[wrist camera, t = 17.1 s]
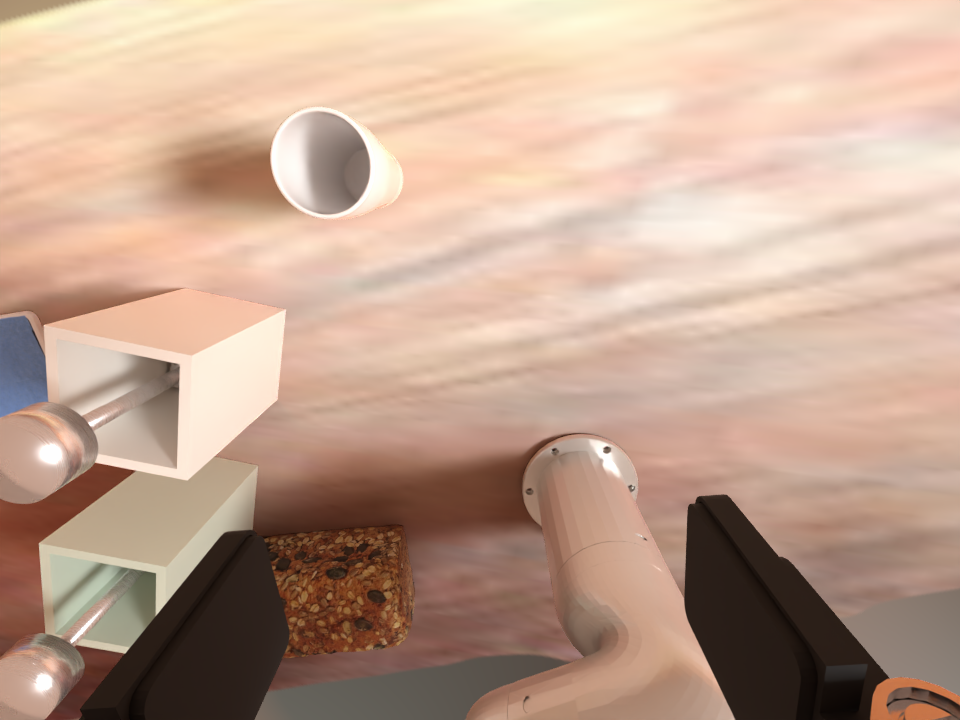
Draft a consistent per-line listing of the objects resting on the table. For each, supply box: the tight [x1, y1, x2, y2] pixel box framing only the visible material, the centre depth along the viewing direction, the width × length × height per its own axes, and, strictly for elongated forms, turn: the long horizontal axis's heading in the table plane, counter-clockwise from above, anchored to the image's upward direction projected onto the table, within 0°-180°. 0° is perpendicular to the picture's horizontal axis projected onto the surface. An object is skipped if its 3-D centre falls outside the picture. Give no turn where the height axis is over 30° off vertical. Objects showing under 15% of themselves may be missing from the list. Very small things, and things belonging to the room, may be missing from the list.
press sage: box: [39, 457, 258, 653], centre depth 47 cm, size 10×10×16 cm
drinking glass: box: [270, 106, 403, 220], centre depth 37 cm, size 7×7×15 cm
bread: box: [264, 525, 415, 658], centre depth 53 cm, size 19×11×10 cm, turn 96°
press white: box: [44, 288, 286, 480], centre depth 42 cm, size 10×10×16 cm
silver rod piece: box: [0, 568, 146, 720], centre depth 42 cm, size 8×8×21 cm
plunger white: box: [0, 362, 180, 504], centre depth 36 cm, size 8×8×21 cm
